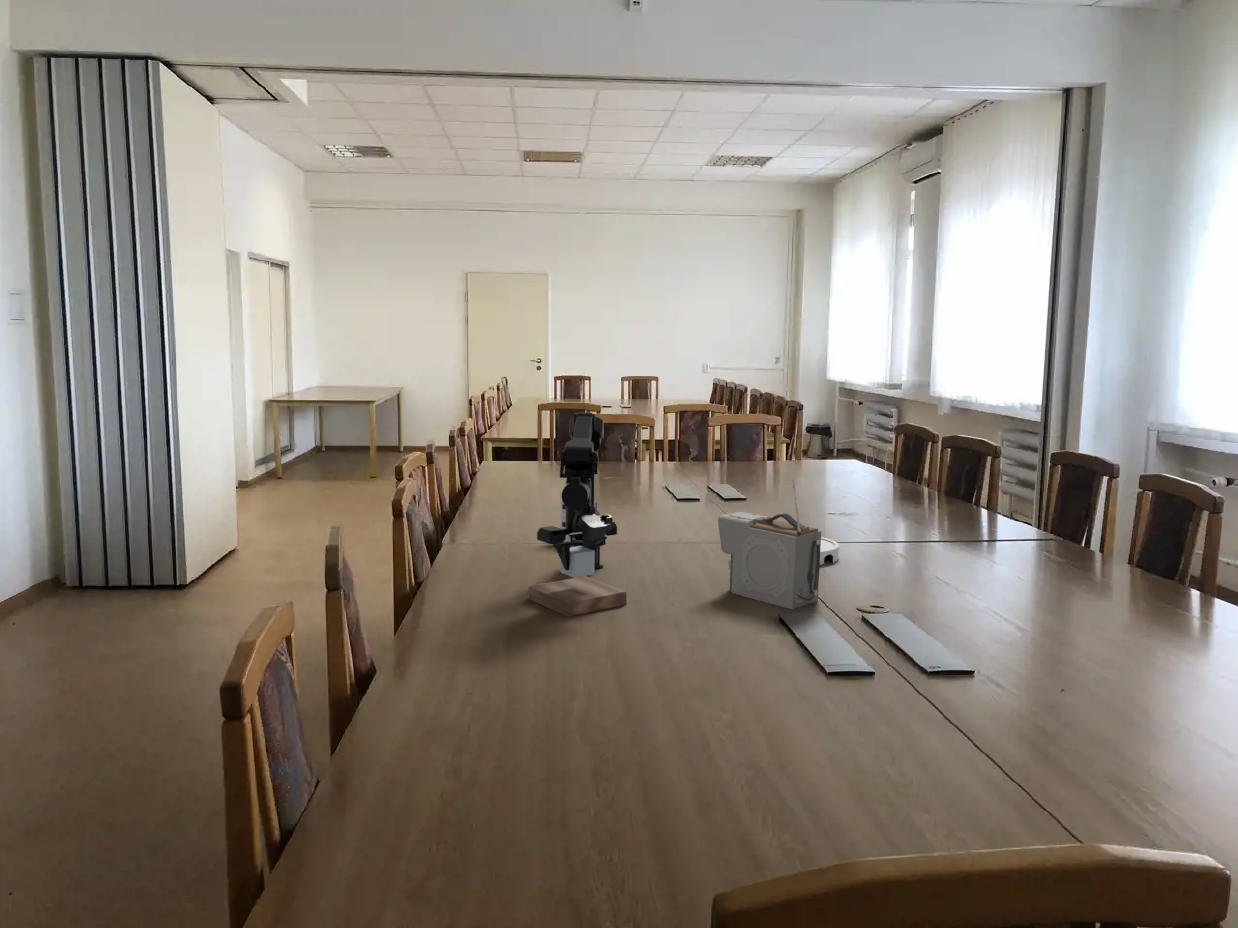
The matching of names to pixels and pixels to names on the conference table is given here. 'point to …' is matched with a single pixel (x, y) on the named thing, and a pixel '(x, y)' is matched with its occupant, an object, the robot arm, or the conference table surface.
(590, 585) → the walnut base
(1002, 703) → the conference table surface
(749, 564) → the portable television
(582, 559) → the slate cube
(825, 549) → the ashtray
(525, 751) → the conference table surface
